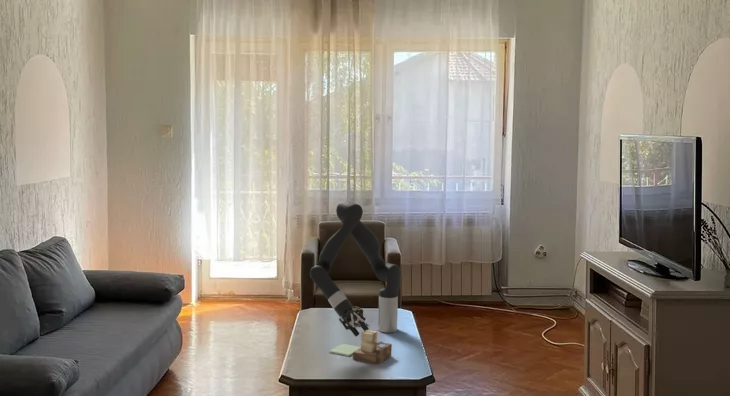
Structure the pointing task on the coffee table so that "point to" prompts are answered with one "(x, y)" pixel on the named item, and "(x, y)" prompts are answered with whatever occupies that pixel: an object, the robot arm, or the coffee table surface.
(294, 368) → the coffee table surface
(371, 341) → the birch block
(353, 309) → the olive green cube
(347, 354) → the pad
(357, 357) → the walnut ledge
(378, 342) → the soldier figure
